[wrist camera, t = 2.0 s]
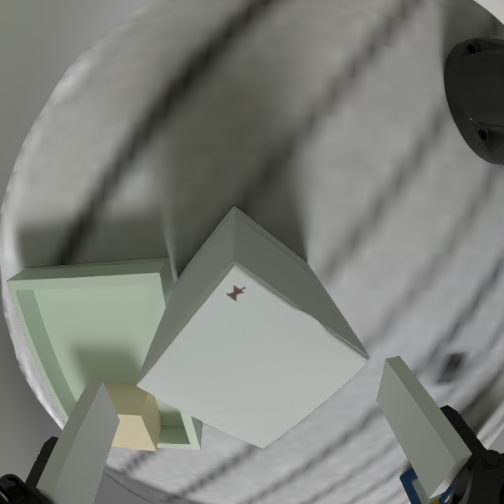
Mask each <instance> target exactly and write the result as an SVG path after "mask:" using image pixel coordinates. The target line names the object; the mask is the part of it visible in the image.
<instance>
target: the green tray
mask: <svg viewBox="0 0 504 504" xmlns="http://www.w3.org/2000/svg"><path fill="white" fill-rule="evenodd" d="M7 285H8V288H9V292H10V295H11V298H12V302H13V305H14V308H15V311H16V314H17V317H18V320H19V323H20V325H21V328H22V331H23V334H24V336H25V339H26V341H27V344H28V346H29V349H30V351H31V354H32V356H33V358H34V361H35V363H36V365H37V368H38V370H39V372H40V374H41V376H42V378H43V381H44V383H45V385H46V387H47V389H48V391H49V393H50V395H51V397H52V399H53V400H54V402H55V404H56V406H57V408H58V410H59V412H60V413H61V415H62V417H63V419H64V421H65V422H66V423H67V421H68V419H69V417H70V415H71V413H72V411H73V409H74V407H75V405H76V403H77V401H78V400H79V398H80V396H81V394H82V392H83V390H84V388H85V387H86V385H87V383H88V381H89V380H99V381H103V382H104V383H120V384H136V382H137V379H138V376H139V373H140V371H141V368H142V366H143V363H144V361H145V358H146V356H147V353H148V350H149V348H150V345H151V343H152V340H153V338H154V335H155V333H156V330H157V328H158V326H159V323H160V321H161V318H162V316H163V313H164V311H165V308H166V306H167V303H168V301H169V298H170V296H171V294H172V291H173V289H174V285H173V278H172V272H171V265H170V258H169V257H167V258H154V259H140V260H126V261H113V262H99V263H86V264H72V265H59V266H45V267H32V268H26V269H24V270H23V271H21V272H20V273H18V274H16V275H15V276H13V277H12V278H10V279H9V280H7ZM155 399H156V402H157V405H158V408H159V411H160V414H161V417H162V419H163V422H162V427H161V431H160V436H159V440H158V445H157V448H169V449H201V437H202V422H201V420H198V419H196V418H194V417H192V416H190V415H188V414H187V413H185V412H183V411H181V410H179V409H177V408H175V407H173V406H171V405H169V404H168V403H166V402H164V401H162V400H160V399H159V398H157V397H155Z"/></svg>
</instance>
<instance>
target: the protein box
mask: <svg viewBox="0 0 504 504" xmlns="http://www.w3.org/2000/svg"><path fill="white" fill-rule="evenodd" d="M400 480H401V482H402V484H403V487H404V489H405V491H406V493H407V495H408V498H409V500H410V502H411V504H448V501H449V500H448V501H447V502H446V503H445V502H444V501H445V499H446V498H447V496H448V495H449V494H450V493H451V491H452V490H453V489H452V487H451V485H450V486H449V487H448V488H447V489H446V491H445V492H443V493H441V494H439V495H437V496H435V497H433V498H430V499H429V498H428V496H427V494H426V492H425V490H424V488H423V486H422V484H421V482H420V481H419V479H418V477H417V475H416V473H415V471H414V469H413V468H412V469H411V470H410V471H408V472H407V473H405V474H404V475H402V476H401V477H400Z"/></svg>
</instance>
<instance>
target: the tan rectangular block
mask: <svg viewBox="0 0 504 504" xmlns="http://www.w3.org/2000/svg"><path fill="white" fill-rule="evenodd" d="M104 385H105V387H106V390H107V392H108V395H109V397H110V399H111V402H112V404H113V406H114V408H115V411H116V413H117V415H118V417H119V419H120V422H119V425H118V428H117V431H116V434H115V436H114V439H113V442H112V445H111V446H112V447H120V448H128V449H138V450H150V451H156V449H157V445H158V440H159V436H160V431H161V427H162V422H163V419H162V417H161V414H160V411H159V408H158V405H157V402H156V399H155V396H153V395H152V394H150V393H148V392H147V391H145V390H143V389H141V388H140V387H138V386H136V384H120V383H104Z"/></svg>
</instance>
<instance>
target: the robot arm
mask: <svg viewBox="0 0 504 504" xmlns="http://www.w3.org/2000/svg"><path fill="white" fill-rule="evenodd" d="M445 85H446V93H447V98H448V102H449V106H450V110H451V113H452V115H453V118H454V121H455V123H456V125H457V127H458V129H459V131H460V133H461V135H462V136H463V138H464V140H465V141H466V143H467V144H468V145H469V147H470V148H471V149H472V150H473V151H474V152H475V153H476V154H477V155H478V156H479V157H481V158H482V159H484V160H485V161H487V162H490V163H494V164H501V165H504V40H499V39H490V38H481V37H480V38H472V39H469V40H467V41H464V42H461V43H459V44H458V45H456V46H455V47H454V48H453V49H452V51H451V52H450V54H449V56H448V59H447V63H446V69H445ZM376 401H377V403H378V405H379V406H380V408H381V410H382V412H383V414H384V415H385V417H386V419H387V421H388V423H389V424H390V426H391V428H392V430H393V432H394V434H395V435H396V437H397V439H398V441H399V443H400V445H401V447H402V448H403V450H404V452H405V454H406V456H407V458H408V460H409V461H410V463H411V465H412V467H413V469H414V471H415V473H416V475H417V477H418V479H419V481H420V482H421V484H422V486H423V488H424V490H425V492H426V494H427V496H428V498H429V499H430V498H433V497H435V496H437V495H439V494H441V493H443V492H445V491H446V489H447V488H448V487H449V486H450V485H451V487H452V489H453V490H452V491H451V493H450V494H449V495H448V496H447V498H446V499H445V501H444V502H445V503H446V502H447V501H448V500H449V501H448V504H504V453H502V454H500V453H498V452H497V451H494V450H486V449H485V447H484V446H483V445H482V444H481V442H480V441H479V440H478V438H477V437H476V436H475V434H474V433H473V432H472V430H471V429H470V428H469V426H467V424H466V422H465V421H464V420H463V418H462V417H461V416H460V415H459V413H458V412H457V411H456V410H454V409H453V408H451V407H450V406H448V405H446V406H444V407H441V408H439V407H438V406H437V404H436V403H435V402H434V400H433V399H432V398H431V396H430V395H429V394H428V392H427V391H426V390H425V388H424V387H423V386H422V384H421V383H420V382H419V381H418V379H417V378H416V377H415V375H414V374H413V373H412V371H411V370H410V369H409V368H408V366H407V365H406V364H405V362H404V361H403V360H402V359H401V357H400V356H397V357H392V358H388V359H385V364H384V369H383V374H382V378H381V383H380V387H379V391H378V395H377V400H376ZM119 422H120V419H119V417H118V415H117V413H116V411H115V408H114V406H113V404H112V402H111V399H110V397H109V395H108V392H107V390H106V387H105V385H104V382H103V381H99V380H89V381H88V383H87V385H86V387H85V388H84V390H83V392H82V394H81V396H80V398H79V400H78V401H77V403H76V405H75V407H74V409H73V411H72V413H71V415H70V417H69V419H68V421H67V423H66V425H65V427H64V429H63V431H62V433H61V435H60V437H59V438H56V437H51V438H50V439H49V440H47V441H46V442H45V443H44V445H43V447H42V449H41V451H40V454H39V455H38V457H37V461H35V463H34V465H33V467H32V469H31V471H30V474H29V476H28V478H27V480H26V482H25V483H24V482H23V481H22V480H21V479H20V478H19V477H18V476H16V475H13V474H7V475H4V476H2V477H1V478H0V504H93V503H94V499H95V496H96V492H97V489H98V486H99V483H100V479H101V476H102V473H103V470H104V467H105V464H106V460H107V457H108V454H109V451H110V448H111V445H112V442H113V439H114V436H115V434H116V431H117V428H118V425H119Z"/></svg>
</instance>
